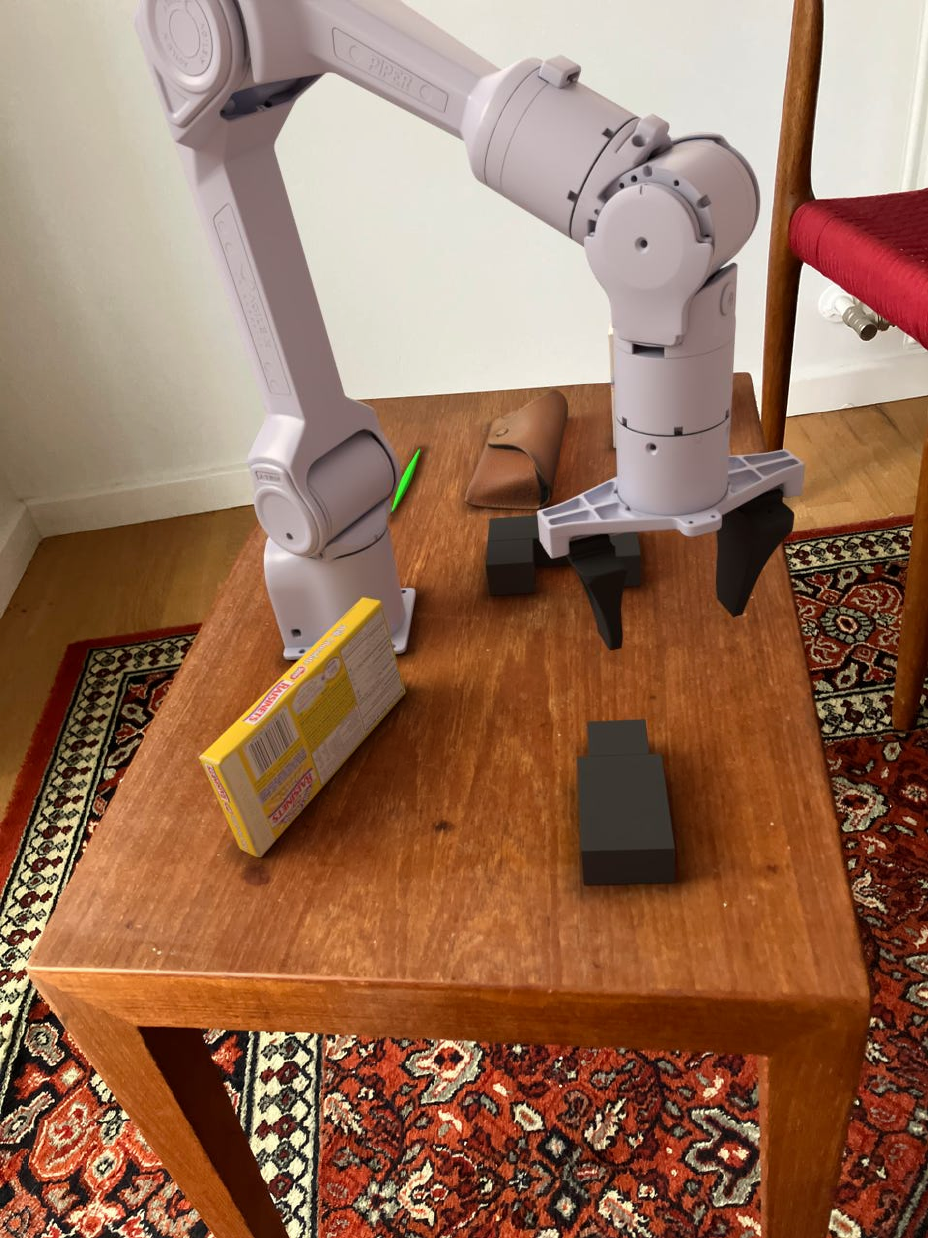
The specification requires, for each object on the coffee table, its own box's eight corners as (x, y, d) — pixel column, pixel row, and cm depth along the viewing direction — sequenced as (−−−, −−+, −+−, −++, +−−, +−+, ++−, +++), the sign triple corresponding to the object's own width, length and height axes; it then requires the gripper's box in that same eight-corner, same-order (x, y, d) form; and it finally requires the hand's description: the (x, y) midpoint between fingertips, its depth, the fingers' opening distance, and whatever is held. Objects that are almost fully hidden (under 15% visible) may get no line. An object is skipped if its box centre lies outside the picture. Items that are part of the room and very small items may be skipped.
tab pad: (583, 885, 53) (580, 851, 51) (577, 755, 61) (575, 721, 59) (674, 883, 52) (675, 848, 50) (656, 752, 60) (656, 718, 58)
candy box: (383, 686, 68) (362, 593, 63) (408, 693, 67) (387, 600, 62) (235, 848, 58) (195, 754, 53) (261, 861, 57) (223, 765, 52)
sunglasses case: (488, 417, 100) (515, 364, 96) (547, 446, 101) (576, 394, 97) (460, 506, 86) (491, 448, 82) (529, 538, 87) (563, 483, 83)
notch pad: (489, 595, 76) (485, 565, 74) (493, 547, 81) (489, 517, 79) (641, 586, 74) (640, 554, 72) (634, 538, 80) (633, 507, 78)
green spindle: (386, 520, 87) (384, 512, 87) (417, 448, 98) (416, 441, 98) (395, 520, 87) (394, 512, 87) (426, 448, 98) (425, 441, 97)
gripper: (563, 479, 43) (578, 697, 52) (848, 409, 45) (819, 630, 53) (517, 419, 49) (537, 624, 57) (773, 358, 51) (757, 566, 59)
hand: (670, 623), depth 56 cm, fingers open, 7 cm apart
